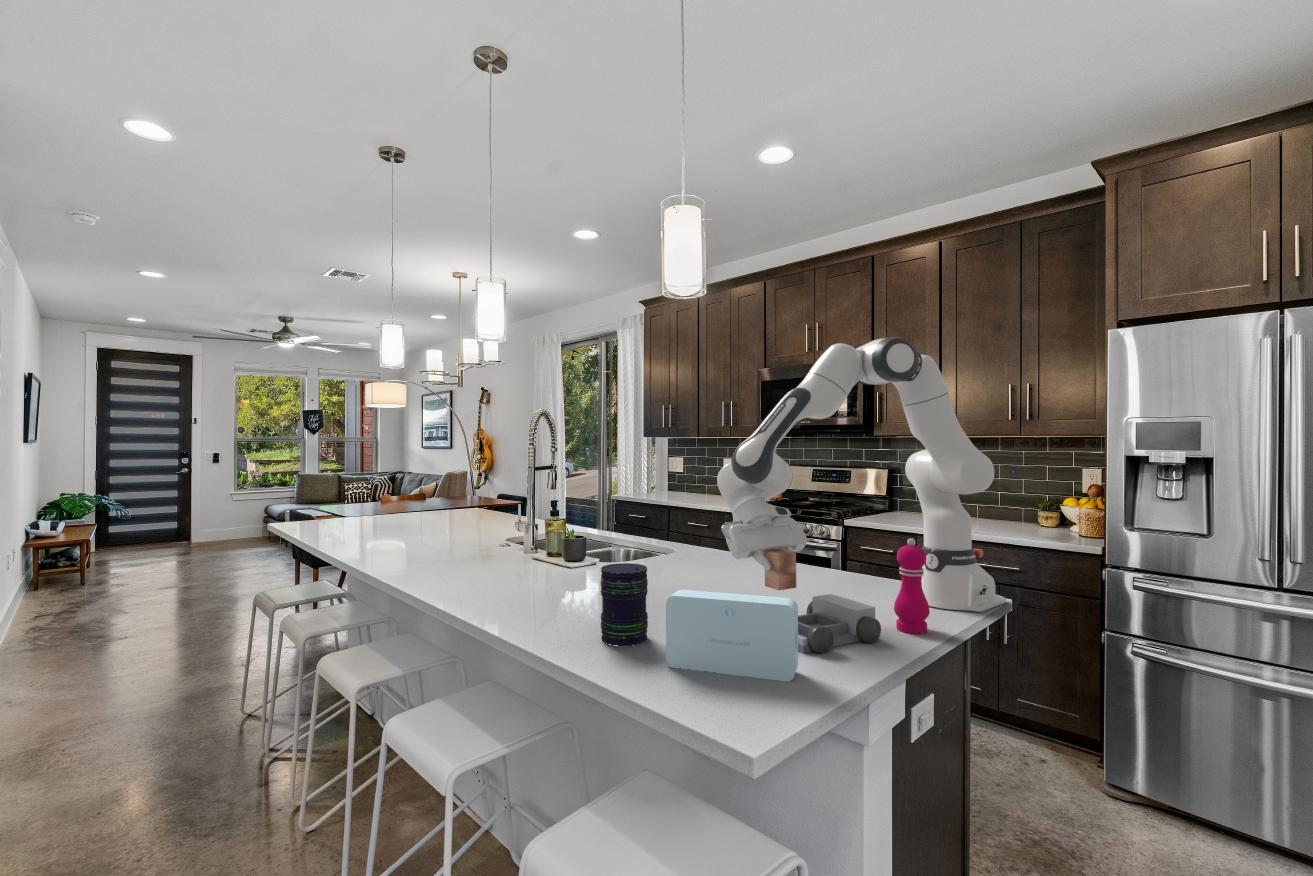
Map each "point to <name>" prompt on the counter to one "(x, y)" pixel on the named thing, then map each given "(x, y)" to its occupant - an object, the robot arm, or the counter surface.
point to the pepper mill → (911, 590)
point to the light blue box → (732, 634)
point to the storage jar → (624, 604)
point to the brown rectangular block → (781, 569)
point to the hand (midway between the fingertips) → (782, 567)
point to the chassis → (836, 624)
